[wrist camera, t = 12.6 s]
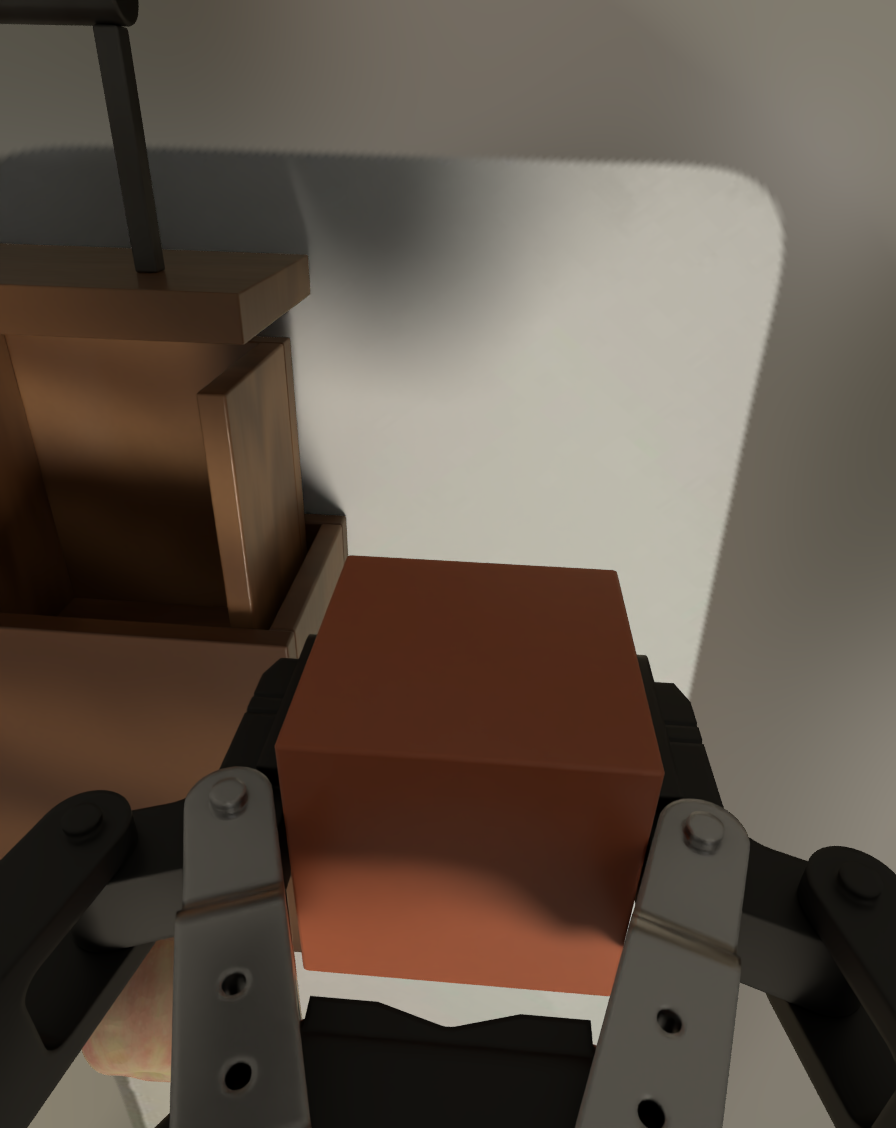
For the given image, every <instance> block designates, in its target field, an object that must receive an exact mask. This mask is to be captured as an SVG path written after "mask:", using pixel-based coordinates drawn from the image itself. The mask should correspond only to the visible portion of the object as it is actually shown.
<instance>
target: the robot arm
mask: <svg viewBox="0 0 896 1128" xmlns="http://www.w3.org/2000/svg"><path fill="white" fill-rule="evenodd" d="M316 636H317V634H309V635H308V637H307V639H306V641H305V644H304V647H303V649H302V652H301V654H300V657H299V659H294V658H280V659H279V660H277V661H276V662H275V663H274V664H273V665H272V666H271V667H270V668H268V669H267V670H266V671H265V672H264V673H263V674H262V676H261V678H260V680H259V683H258V685H257V687H256V689H255V691H254V696H253V697H252V698H251V700H250V702H249V705H248V707H247V712H245V713H244V716H243V718H242V720H241V722H240V724H239V727H238V729H237V731H236V733H235V735H234V738H233V740H232V742H231V744H230V747H229V749H228V751H227V753H226V755H225V758H224V760H223V762H222V764H221V766H220V768H219V770H217V771H214V772H212V773H210V774H208V775H206V776H204V777H203V778H202V779H200V780H199V781H198V782H197V783H196V784H195V785H194V786H193V787H192V788H191V789H190V791H189V793H188V794H187V796H186V798H184V799H182V800H179V801H176V802H172V803H168V804H163V805H157V806H152V807H147V808H141V809H136V810H131V806H130V804H129V802H128V801H127V800H126V798H125V797H123V796H122V795H120V794H118V793H116V792H113V791H108V790H92V791H87V792H83V793H80V794H76V795H74V796H72V797H69V798H67V799H65V800H64V801H62V802H60V803H59V804H57V805H56V806H54V807H53V808H52V809H51V810H50V811H49V812H47V813H46V814H45V815H44V816H43V817H42V819H41V820H40V821H39V822H38V823H37V824H36V825H35V826H34V827H33V828H32V829H31V830H30V831H29V832H28V833H27V834H26V835H25V836H24V837H23V838H22V839H21V840H20V841H19V842H18V843H17V844H16V845H15V846H14V847H13V848H12V849H11V850H10V851H9V852H8V853H7V854H6V855H5V856H4V857H3V858H2V859H1V860H0V1128H27V1127H28V1126H29V1124H30V1123H31V1121H32V1120H33V1119H34V1117H35V1116H36V1114H37V1113H38V1111H39V1110H40V1109H41V1107H42V1106H43V1104H44V1103H45V1101H46V1100H47V1098H48V1097H49V1096H50V1094H51V1092H52V1091H53V1090H54V1088H55V1087H56V1085H57V1084H58V1082H59V1081H60V1080H61V1078H62V1077H63V1075H64V1074H65V1072H66V1071H67V1070H68V1068H69V1067H70V1065H71V1063H72V1062H73V1061H74V1059H75V1058H76V1057H77V1055H78V1054H79V1052H80V1051H81V1049H82V1048H83V1047H84V1045H85V1044H86V1042H87V1041H88V1039H89V1038H90V1036H91V1035H92V1034H93V1032H94V1031H95V1029H96V1028H97V1026H98V1025H99V1023H100V1022H101V1021H102V1019H103V1018H104V1016H105V1015H106V1013H107V1012H108V1010H109V1009H110V1008H111V1006H112V1005H113V1003H114V1002H115V1000H116V999H117V997H118V996H119V995H120V993H121V992H122V990H123V989H124V987H125V986H126V985H127V983H128V982H129V980H130V979H131V977H132V976H133V974H134V973H135V972H136V970H137V969H138V967H139V966H140V964H141V963H142V961H143V960H144V959H145V957H146V956H147V954H148V953H149V951H150V950H151V948H152V947H153V946H154V944H155V942H156V941H158V940H163V939H167V938H171V937H174V966H173V1007H172V1048H171V1088H170V1113H169V1114H168V1115H167V1116H166V1117H165V1118H164V1119H163V1120H162V1121H161V1122H160V1123H159V1124H158V1125H157V1126H156V1127H155V1128H722V1126H723V1117H724V1109H725V1100H726V1093H727V1083H728V1076H729V1068H730V1059H731V1050H732V1043H733V1034H734V1026H735V1017H736V1009H737V1001H738V992H739V984H740V983H743V984H745V985H748V986H750V987H753V988H755V989H758V990H760V991H763V992H765V993H766V995H767V997H768V999H769V1001H770V1003H771V1005H772V1007H773V1009H774V1011H775V1013H776V1015H777V1017H778V1019H779V1020H780V1022H781V1024H782V1026H783V1028H784V1030H785V1032H786V1034H787V1036H788V1037H789V1040H790V1041H791V1043H792V1045H793V1047H794V1049H795V1051H796V1053H797V1055H798V1057H799V1059H800V1061H801V1062H802V1064H803V1066H804V1068H805V1070H806V1072H807V1074H808V1076H809V1078H810V1080H811V1082H812V1083H813V1085H814V1087H815V1089H816V1091H817V1093H818V1095H819V1097H820V1099H821V1101H822V1103H823V1105H824V1106H825V1108H826V1110H827V1112H828V1114H829V1116H830V1118H831V1120H832V1122H833V1123H834V1126H835V1127H836V1128H896V874H895V873H894V872H893V871H892V870H891V869H889V868H888V867H887V866H886V865H884V864H883V863H882V862H880V861H879V860H877V859H876V858H874V857H872V856H870V855H868V854H866V853H864V852H862V851H859V850H856V849H853V848H848V847H842V846H829V847H825V848H821V849H819V850H817V851H816V852H815V853H814V854H812V856H811V857H810V858H809V861H805V860H802V859H799V858H796V857H793V856H791V855H788V854H785V853H782V852H779V851H776V850H773V849H770V848H768V847H765V846H763V845H761V844H759V843H757V842H756V841H754V840H752V839H751V838H749V837H748V834H747V832H746V830H745V828H744V827H743V825H742V824H741V823H740V822H739V820H738V819H737V818H736V817H734V816H733V815H732V814H731V813H730V812H728V811H727V810H725V809H724V807H723V805H722V801H721V798H720V795H719V792H718V788H717V785H716V782H715V779H714V776H713V773H712V769H711V766H710V763H709V760H708V757H707V754H706V750H705V747H704V744H702V738H701V734H700V731H699V728H698V727H697V722H696V719H695V715H694V712H693V709H692V706H691V702H690V701H689V700H688V699H687V698H686V697H685V696H684V694H683V693H682V692H681V691H680V690H679V689H678V688H677V687H676V685H675V684H674V683H660V682H654V679H653V676H652V672H651V668H650V664H649V660H648V658H647V656H646V655H637V659H638V663H639V667H640V672H641V676H642V680H643V684H644V688H645V693H646V697H647V701H648V705H649V709H650V713H651V718H652V722H653V726H654V730H655V734H656V739H657V743H658V747H659V751H660V755H661V760H662V764H663V768H664V772H665V774H664V778H663V783H662V787H661V791H660V795H659V799H658V804H657V808H656V812H655V816H654V820H653V825H652V829H651V833H650V837H649V841H648V845H647V850H646V854H645V858H644V862H643V866H642V871H641V875H640V879H639V883H638V887H637V892H636V896H635V908H634V912H633V914H632V917H631V921H630V924H629V928H628V931H627V935H626V939H625V943H624V946H623V950H622V954H621V958H620V961H619V965H618V969H617V972H616V976H615V980H614V984H613V987H612V991H611V995H610V998H609V1002H608V1006H607V1010H606V1013H605V1017H604V1021H603V1025H602V1028H601V1032H600V1036H599V1039H598V1043H597V1046H596V1045H594V1044H593V1042H592V1031H591V1020H580V1019H569V1018H557V1017H546V1016H534V1015H523V1014H520V1015H514V1016H509V1017H504V1018H498V1019H493V1020H488V1021H483V1022H477V1023H472V1024H467V1025H461V1026H456V1027H445V1026H441V1025H438V1024H435V1023H433V1022H430V1021H427V1020H425V1019H422V1018H419V1017H417V1016H414V1015H412V1014H409V1013H406V1012H404V1011H401V1010H398V1009H396V1008H393V1007H390V1006H388V1005H385V1004H382V1003H380V1002H373V1001H362V1000H350V999H339V998H327V997H316V996H310V999H309V1003H308V1008H307V1012H306V1016H305V1019H302V1013H301V1005H300V998H299V989H298V981H297V973H296V964H295V956H294V948H293V939H292V931H291V923H290V914H289V906H288V898H287V890H286V889H287V887H288V883H289V880H290V877H291V867H290V860H289V852H288V844H287V837H286V829H285V822H284V814H283V806H282V799H281V791H280V783H279V776H278V768H277V761H276V753H275V743H276V741H277V738H278V736H279V733H280V730H281V728H282V725H283V722H284V720H285V717H286V715H287V712H288V709H289V707H290V704H291V702H292V699H293V696H294V694H295V691H296V689H297V686H298V683H299V681H300V678H301V676H302V673H303V670H304V668H305V665H306V662H307V660H308V657H309V655H310V652H311V649H312V647H313V644H314V642H315V639H316Z"/></svg>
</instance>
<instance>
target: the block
mask: <svg viewBox="0 0 896 1128" xmlns="http://www.w3.org/2000/svg"><path fill="white" fill-rule="evenodd" d="M275 753H276V761H277V768H278V776H279V783H280V791H281V799H282V806H283V814H284V822H285V829H286V837H287V844H288V852H289V860H290V867H291V875H292V883H293V890H294V898H295V906H296V913H297V921H298V928H299V936H300V944H301V951H302V959H303V966H304V969H306V970H309V971H321V972H333V973H344V974H356V975H367V976H379V977H391V978H402V979H414V980H426V981H437V982H449V983H460V984H472V985H484V986H495V987H507V988H518V989H530V990H542V991H553V992H565V993H577V994H588V995H600V996H610V995H611V991H612V987H613V984H614V980H615V976H616V972H617V969H618V965H619V961H620V958H621V954H622V950H623V946H624V942H625V938H626V933H627V929H628V925H629V921H630V917H631V913H632V908H633V904H634V900H635V896H636V892H637V887H638V883H639V879H640V875H641V871H642V866H643V862H644V858H645V854H646V850H647V845H648V841H649V837H650V833H651V829H652V825H653V820H654V816H655V812H656V808H657V804H658V799H659V795H660V791H661V787H662V783H663V778H664V774H665V772H664V768H663V764H662V760H661V755H660V751H659V747H658V743H657V739H656V734H655V730H654V726H653V722H652V718H651V713H650V709H649V705H648V701H647V697H646V693H645V688H644V684H643V680H642V676H641V672H640V667H639V663H638V659H637V655H636V651H635V646H634V642H633V638H632V634H631V630H630V625H629V621H628V617H627V613H626V609H625V604H624V600H623V596H622V592H621V588H620V583H619V579H618V575H617V572H616V571H614V570H601V569H583V568H565V567H548V566H530V565H512V564H495V563H477V562H459V561H442V560H424V559H406V558H389V557H371V556H353V555H350V556H348V557H347V558H346V561H345V563H344V566H343V569H342V571H341V574H340V576H339V579H338V582H337V584H336V587H335V589H334V592H333V595H332V597H331V600H330V603H329V605H328V608H327V610H326V613H325V616H324V618H323V621H322V623H321V626H320V629H319V631H318V634H317V636H316V639H315V642H314V644H313V647H312V649H311V652H310V655H309V657H308V660H307V662H306V665H305V668H304V670H303V673H302V676H301V678H300V681H299V683H298V686H297V689H296V691H295V694H294V696H293V699H292V702H291V704H290V707H289V709H288V712H287V715H286V717H285V720H284V722H283V725H282V728H281V730H280V733H279V736H278V738H277V741H276V743H275Z"/></svg>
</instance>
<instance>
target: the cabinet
mask: <svg viewBox="0 0 896 1128" xmlns="http://www.w3.org/2000/svg"><path fill="white" fill-rule="evenodd" d="M304 518H305V530H306V543H307V555H306V557H305V559H304V561H303V563H302V565H301V567H300V569H299V571H298V573H297V575H296V577H295V579H294V581H293V583H292V585H291V587H290V589H289V591H288V593H287V595H286V597H285V599H284V601H283V603H282V605H281V607H280V609H279V611H278V613H277V615H276V617H275V619H274V621H273V623H272V625H271V627H270V629H269V630H260V629H245V628H229V627H214V626H198V625H183V624H168V623H152V622H137V621H122V620H106V619H91V618H76V617H60V616H45V615H30V614H14V613H0V860H1V859H2V858H3V857H4V856H5V855H6V854H7V853H8V852H9V851H10V850H11V849H12V848H13V847H14V846H15V845H16V844H17V843H18V842H19V841H20V840H21V839H22V838H23V837H24V836H25V835H26V834H27V833H28V832H29V831H30V830H31V829H32V828H33V827H34V826H35V825H36V824H37V823H38V822H39V821H40V820H41V819H42V817H43V816H44V815H45V814H46V813H47V812H49V811H50V810H51V809H52V808H53V807H54V806H56V805H57V804H59V803H60V802H62V801H64V800H65V799H67V798H69V797H72V796H74V795H76V794H80V793H83V792H87V791H92V790H108V791H113V792H116V793H118V794H120V795H122V796H123V797H125V798H126V800H127V801H128V802H129V804H130V806H131V810H136V809H141V808H147V807H152V806H157V805H163V804H168V803H172V802H176V801H179V800H182V799H184V798H186V796H187V794H188V793H189V791H190V789H191V788H192V787H193V786H194V785H195V784H196V783H197V782H198V781H199V780H200V779H202V778H203V777H204V776H206V775H208V774H210V773H212V772H214V771H217V770H219V768H220V766H221V764H222V762H223V760H224V758H225V755H226V753H227V751H228V749H229V747H230V744H231V742H232V740H233V738H234V735H235V733H236V731H237V729H238V727H239V724H240V722H241V720H242V718H243V716H244V713H245V712H247V707H248V705H249V702H250V700H251V698H252V697H253V696H254V691H255V689H256V687H257V685H258V683H259V680H260V678H261V676H262V674H263V673H264V672H265V671H266V670H267V669H268V668H270V667H271V666H272V665H273V664H274V663H275V662H276V661H277V660H279V659H280V658H294V659H299V657H300V654H301V652H302V649H303V647H304V644H305V641H306V639H307V637H308V635H309V634H318V631H319V629H320V626H321V623H322V621H323V618H324V616H325V613H326V610H327V608H328V605H329V603H330V600H331V597H332V595H333V592H334V589H335V587H336V584H337V582H338V579H339V576H340V574H341V571H342V569H343V566H344V563H345V561H346V558H347V557H348V548H347V528H346V517H345V516H340V515H323V514H305V513H304ZM286 890H287V898H288V906H289V914H290V923H291V931H292V939H293V948H294V952H302V951H301V944H300V936H299V928H298V921H297V913H296V906H295V898H294V890H293V883H292V875H291V877H290V880H289V883H288V887H287V889H286ZM163 940H170V941H174V937H171V938H167V939H163Z"/></svg>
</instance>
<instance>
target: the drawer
mask: <svg viewBox="0 0 896 1128" xmlns="http://www.w3.org/2000/svg"><path fill="white" fill-rule="evenodd" d="M138 7H139V6H138V0H0V24H34V25H83V26H84V25H85V26H93V31H94V37H95V42H96V48H97V53H98V59H99V65H100V71H101V76H102V82H103V88H104V94H105V99H106V105H107V111H108V116H109V122H110V128H111V133H112V139H113V145H114V151H115V156H116V162H117V168H118V174H119V179H120V185H121V191H122V196H123V202H124V208H125V214H126V219H127V225H128V231H129V236H130V242H131V248H115V247H88V246H60V245H33V244H6V243H0V613H14V614H30V615H45V616H60V617H76V618H91V619H106V620H122V621H137V622H152V623H168V624H183V625H198V626H214V627H229V628H245V629H260V630H269V629H270V627H271V625H272V623H273V621H274V619H275V617H276V615H277V613H278V611H279V609H280V607H281V605H282V603H283V601H284V599H285V597H286V595H287V593H288V591H289V589H290V587H291V585H292V583H293V581H294V579H295V577H296V575H297V573H298V571H299V569H300V567H301V565H302V563H303V561H304V559H305V557H306V555H307V543H306V530H305V518H304V506H303V493H302V481H301V469H300V456H299V444H298V431H297V419H296V407H295V394H294V382H293V370H292V357H291V345H290V338H288V337H265V336H256V335H257V334H258V333H260V332H261V331H262V330H264V329H265V328H266V327H268V326H269V325H270V324H272V323H273V322H274V321H276V320H277V319H278V318H280V317H281V316H282V315H283V314H285V313H286V312H287V311H289V310H290V309H291V308H293V307H294V306H295V305H297V304H298V303H299V302H301V301H302V300H303V299H305V298H306V297H307V296H309V295H310V278H309V263H308V255H305V254H278V253H251V252H223V251H196V250H169V249H162V245H161V239H160V232H159V226H158V220H157V213H156V207H155V200H154V194H153V188H152V181H151V175H150V168H149V162H148V156H147V149H146V143H145V136H144V130H143V124H142V118H141V111H140V104H139V98H138V92H137V85H136V79H135V73H134V66H133V60H132V53H131V47H130V41H129V34H128V30H127V28H124V27H121V26H132V25H133V24H135V22H136V20H137V17H138Z"/></svg>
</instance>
